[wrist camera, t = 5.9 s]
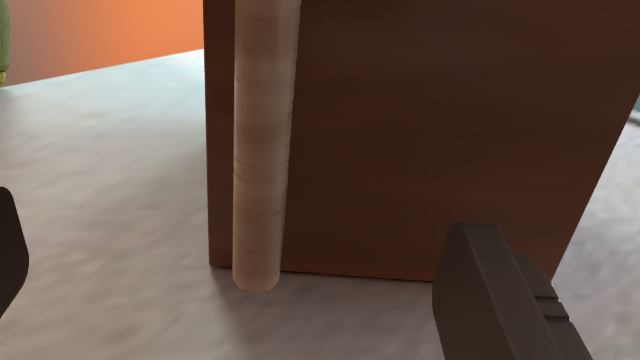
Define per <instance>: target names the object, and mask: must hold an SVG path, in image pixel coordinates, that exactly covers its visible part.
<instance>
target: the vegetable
mask: <svg viewBox="0 0 640 360" xmlns="http://www.w3.org/2000/svg"><path fill="white" fill-rule="evenodd" d="M8 11H9V10H8V4H7V0H0V85H1V84H4V81H5V77H6V74H5V73H6V70H7V69H8V68H9V65H10V61H11V55H10V21H9V12H8Z"/></svg>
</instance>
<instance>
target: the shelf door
mask: <svg viewBox="0 0 640 360" xmlns="http://www.w3.org/2000/svg"><path fill="white" fill-rule="evenodd" d="M203 21H204V22H203V24H204V68H205V111H206V153H207V196H208V239H209V265H211V266H224V267H233V280H234V282H235V284H236V285H237V286H238V287H239V288H241V289H242V290H244V291H247V292H252V293H260V292H265V291H268V290H270V289H271V288H273V287H274V286H275V285H276V284H277V282H278V281H279V277H280V271H294V272H308V273H322V274H336V275H349V276H363V277H377V278H391V279H405V280H419V281H433V282H434V280H435V276H436V273H437V270H438V266H439V263H440V260H441V256H442V253H443V250H444V247H445V243H446V240H447V237H448V233H449V230H450V228H451V226H452V224H453V223H454V222H456V221H458V222H471V223H484V224H495V225H497V226H498V227H499V228H500V230H501V232H502V234H503V236H504V238H505V240H506V242H507V244H508V246H509V248H510V250H511V252H512V253H520V254H524V255H525V256H526V257H527V258H529V259H530V260H531V261H532V262H533V263H534V264H535V265H536V266H537V267H538V268H539V269H540V270H541V271H542V272H543V273H545V274H546V276H547V278H548V280H549V282H551V280H552V278H553V276H554V274H555V272H556V270H557V267H558V265H559V263H560V261H561V259H562V257H563V255H564V253H565V251H566V248H567V246H568V244H569V242H570V240H571V238H572V236H573V234H574V232H575V230H576V227H577V225H578V223H579V221H580V219H581V217H582V215H583V213H584V211H585V208H586V206H587V204H588V202H589V200H590V198H591V196H592V194H593V192H594V189H595V187H596V185H597V183H598V181H599V179H600V177H601V175H602V173H603V170H604V168H605V166H606V164H607V162H608V160H609V158H610V156H611V154H612V151H613V149H614V147H615V145H616V143H617V141H618V139H619V137H620V135H621V133H622V130H623V128H624V126H625V124H626V122H627V120H628V118H629V116H630V114H631V111H632V109H633V107H634V105H635V103H636V101H637V99H638V97H639V95H640V0H203Z"/></svg>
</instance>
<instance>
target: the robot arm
mask: <svg viewBox="0 0 640 360" xmlns="http://www.w3.org/2000/svg"><path fill="white" fill-rule="evenodd" d="M28 268H29V254H28V250H27V246H26V243H25V239H24V235H23V232H22V228H21V225H20V221H19V217H18V214H17V210H16V207H15V203H14V199H13V197H12V194H11V193H10V191H9V190H8V189H7V188H5V187H0V318H1V317H2V315H3V314H4V312H5V311H6V309H7V308H8V307H9V305H10V304H11V302H12V301H13V299H14V298H15V297H16V295H17V294H18V292H19V291H20V289H21V288H22V286H23V284H24V282H25V279H26V277H27V273H28ZM432 307H433V314H434V318H435V322H436V326H437V330H438V333H439V337H440V341H441V345H442V349H443V353H444V357H445V360H593V359H592V357H591V355H590V354H589V352H588V350H587V348H586V346H585V345H584V343H583V341H582V339H581V337H580V336H579V334H578V332H577V330H576V328H575V327H574V325H573V323H572V322H569V316H568V314H567V312H566V310H565V309H564V307H563V305H562V303H561V302H558V296H557V294H556V292H555V291H554V289H553V287H552V285H551V283H550V282H549V280H548V278H547V276H546V274H545V273H543V272H542V271H541V270H540V269H539V268H538V267H537V266H536V265H535V264H534V263H533V262H532V261H531V260H530V259H529V258H527V257H526V256H525V255H524V254H520V253H512V252H511V250H510V248H509V246H508V244H507V242H506V240H505V238H504V236H503V234H502V232H501V230H500V228H499V227H498V226H497V225H495V224H484V223H471V222H458V221H456V222H454V223H453V224H452V226H451V228H450V230H449V233H448V237H447V240H446V243H445V247H444V250H443V253H442V256H441V260H440V263H439V266H438V270H437V273H436V276H435V280H434V284H433V290H432Z"/></svg>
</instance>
